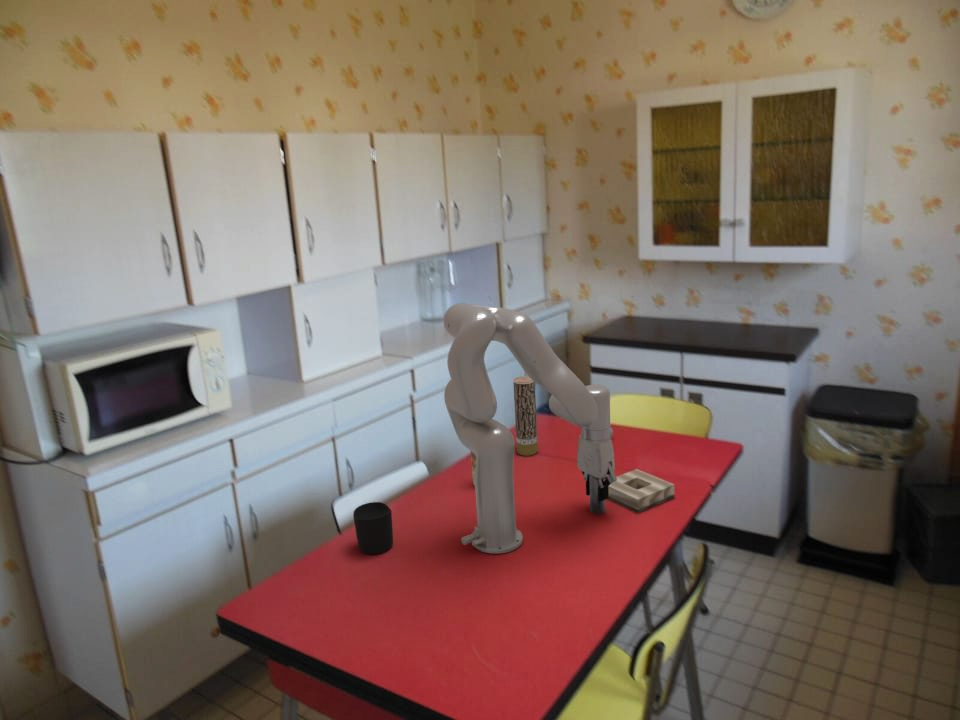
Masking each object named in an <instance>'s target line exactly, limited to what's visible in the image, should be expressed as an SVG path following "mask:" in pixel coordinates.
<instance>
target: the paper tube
mask: <svg viewBox="0 0 960 720" xmlns="http://www.w3.org/2000/svg"><path fill="white" fill-rule="evenodd" d="M513 399H514V401H513V402H514V419H515V421H514V422H515V437H516V438H515V439H516V451H517V453H518V455H520V456H524V457H529V456H535V455H536V454H537V453H538V451H539V447H538V427H537V426H538V425H537V423H538V421H537V404H536V403H537V402H536V382H534V381H533V380H532V379H531V378H530V377H529V376H528V375H527V376H526V375H525V376H518V377H515V378H513Z"/></svg>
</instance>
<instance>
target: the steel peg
mask: <svg viewBox="0 0 960 720" xmlns="http://www.w3.org/2000/svg"><path fill="white" fill-rule="evenodd" d="M604 481H605V478H603V482H604ZM598 487H600V485H599V479H598V478H596V477H594V476H592V475H589V488H590V495H589V513H591V514H592V515H603V514H604V513H605V512H606V500H603V501H601V502H600V501H599V500H598Z"/></svg>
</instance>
